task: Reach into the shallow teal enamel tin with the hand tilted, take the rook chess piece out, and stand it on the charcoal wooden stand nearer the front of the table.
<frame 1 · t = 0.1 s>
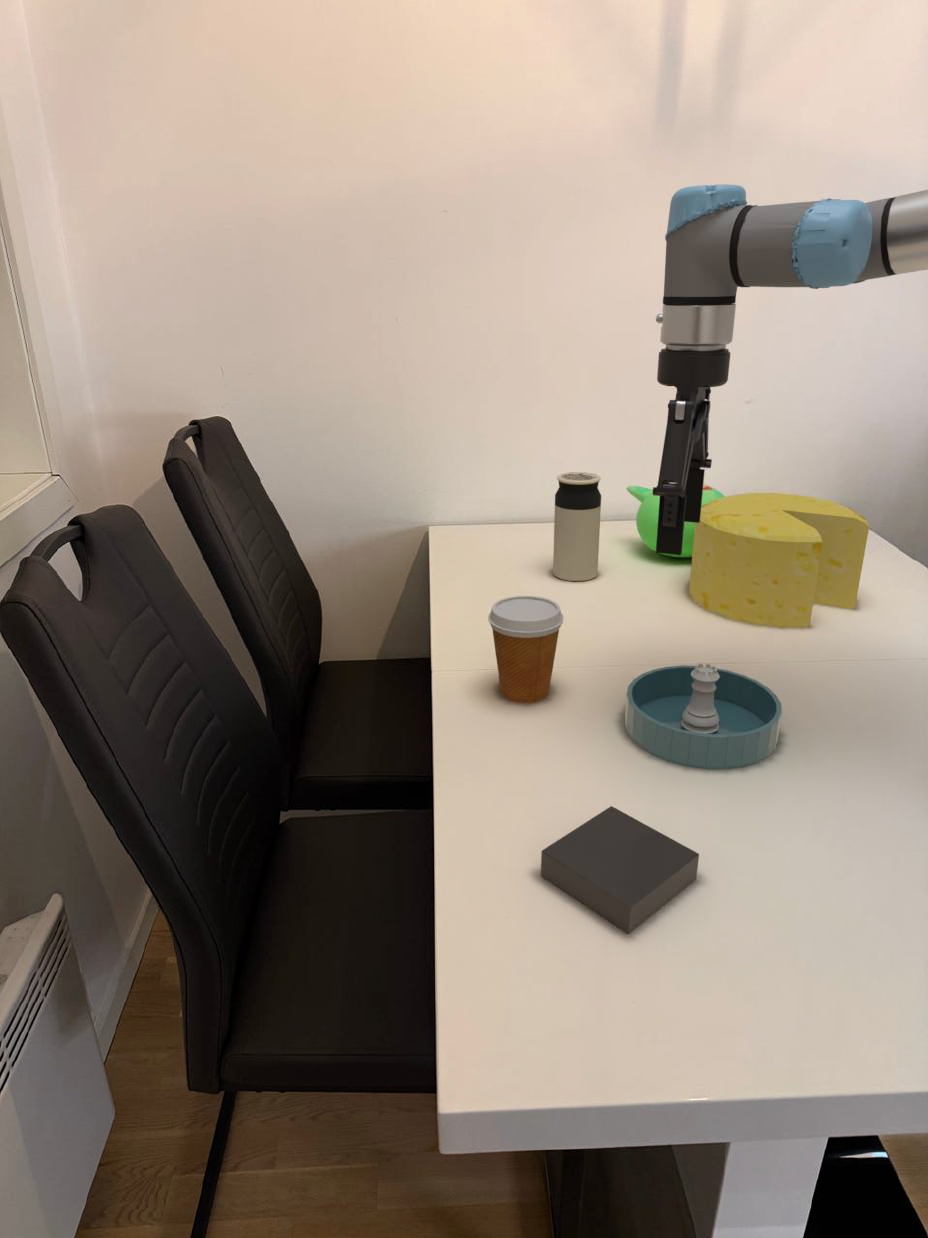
hand: (679, 536, 98), 22 cm above the table, tool pointing down, fingers open, 13 cm apart
travel mug: (575, 576, 151), on the table
rook chess piece: (699, 729, 101), resting on tin
tin: (699, 729, 101), on the table
stand: (618, 878, 76), on the table
disposable coffee cup: (524, 694, 110), on the table
cheese: (769, 598, 140), on the table
toy bird: (679, 554, 161), on the table
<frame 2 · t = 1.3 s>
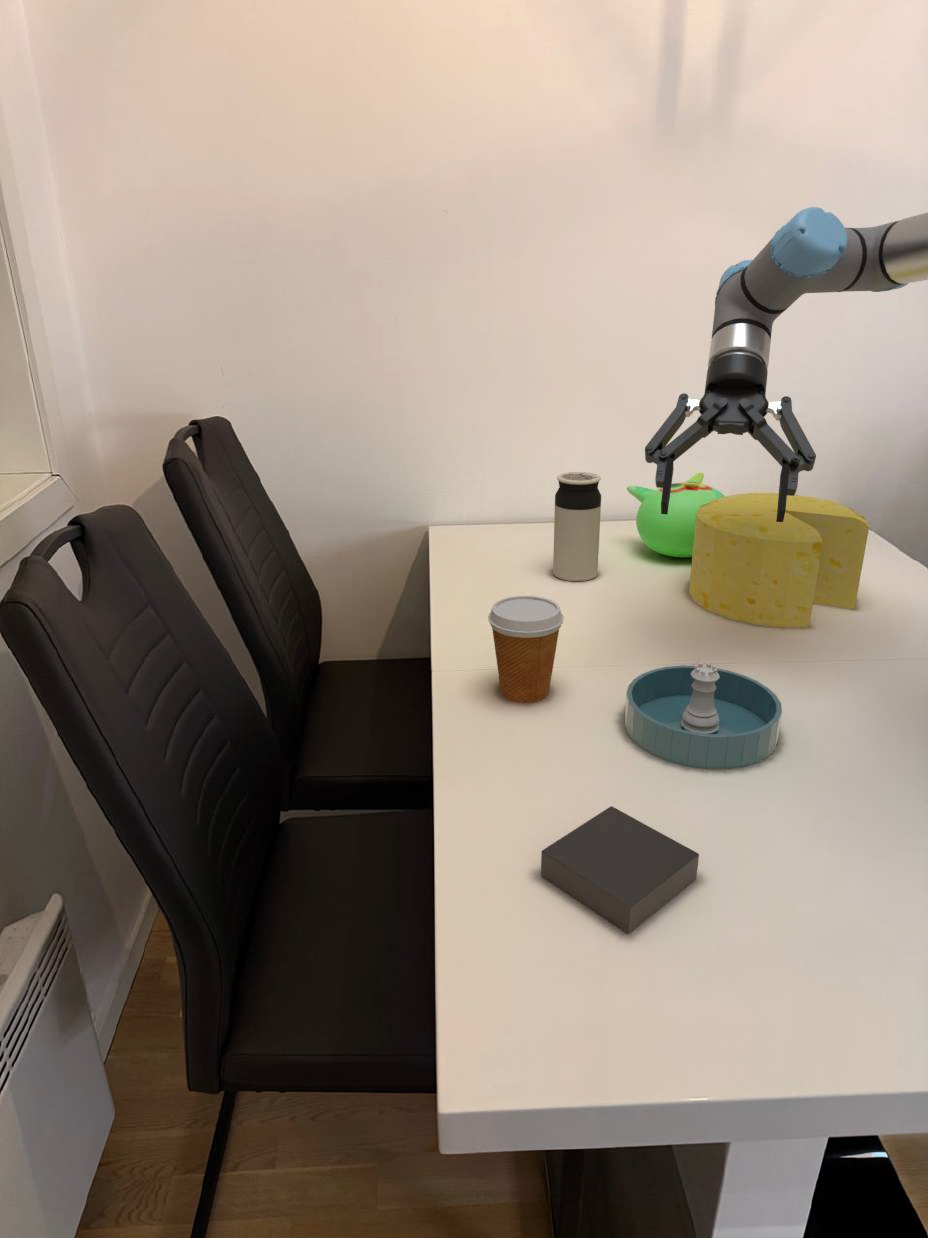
hand: (721, 512, 102), 24 cm above the table, tool tilted 45°, fingers open, 13 cm apart
nothing on the table moved.
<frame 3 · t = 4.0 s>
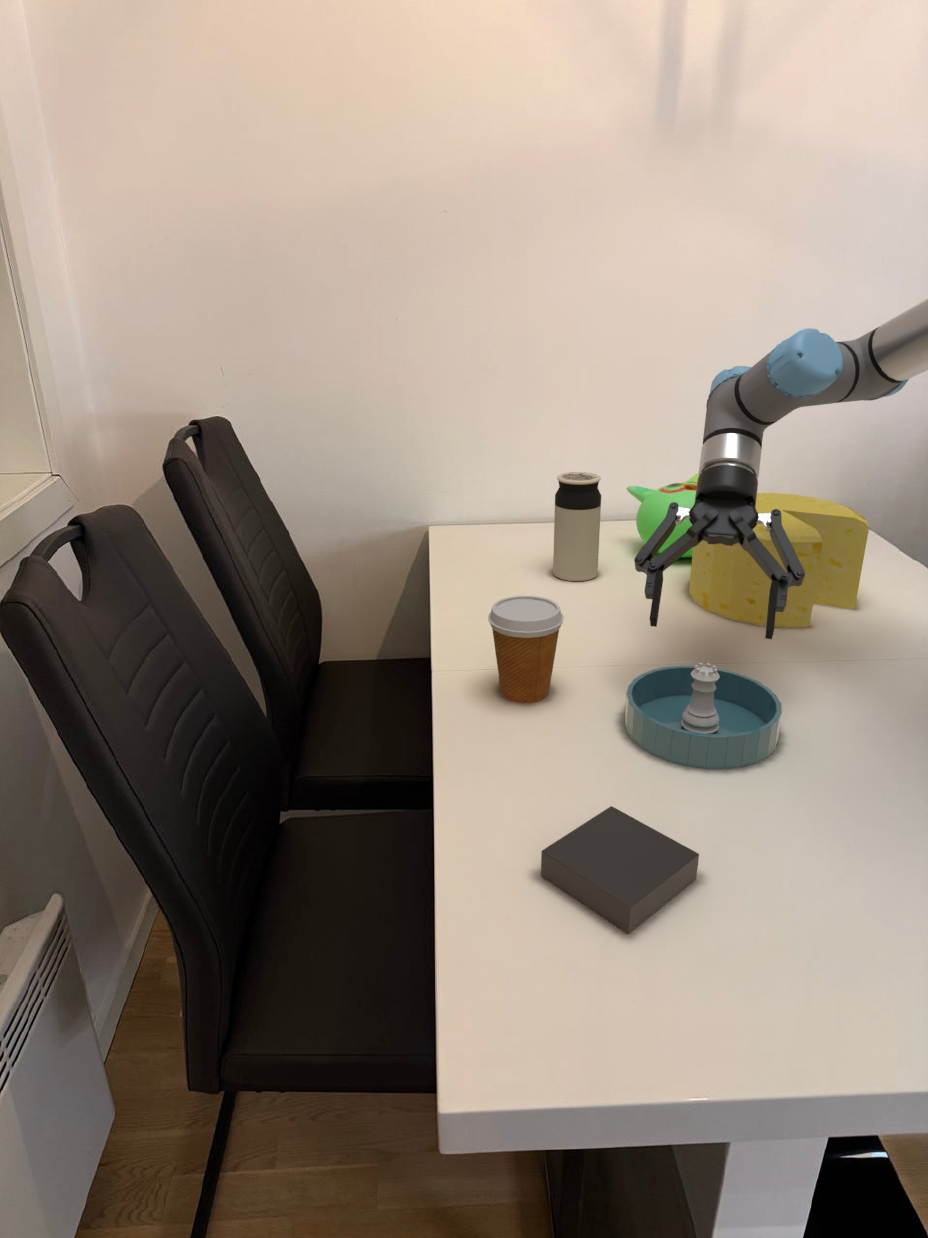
hand: (710, 628, 101), 11 cm above the table, tool tilted 45°, fingers open, 13 cm apart
nothing on the table moved.
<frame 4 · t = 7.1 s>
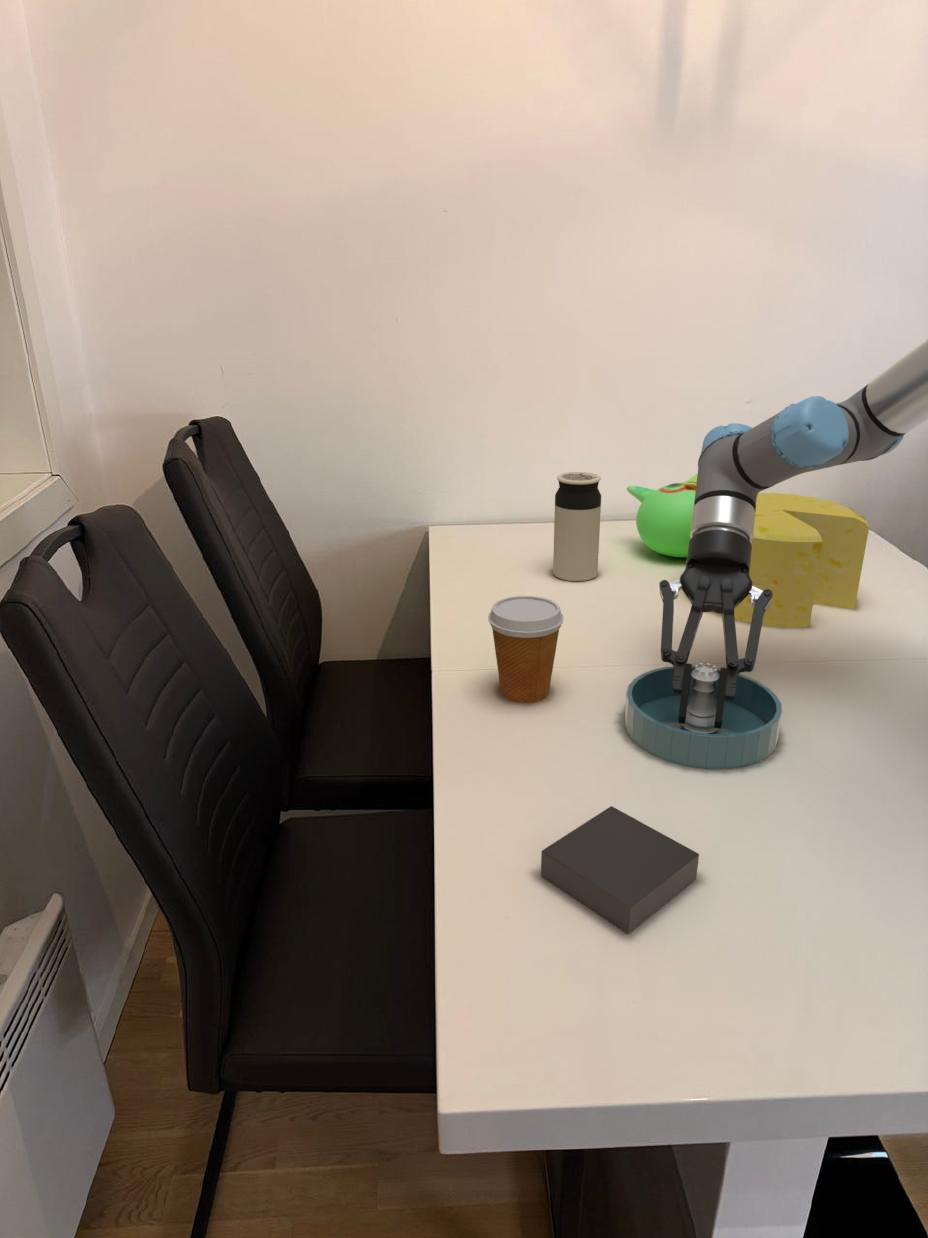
hand: (699, 722, 96), 3 cm above the table, tool tilted 45°, fingers closed on rook chess piece, 3 cm apart
rook chess piece: (699, 729, 101), resting on tin, touching gripper
everything else where it was.
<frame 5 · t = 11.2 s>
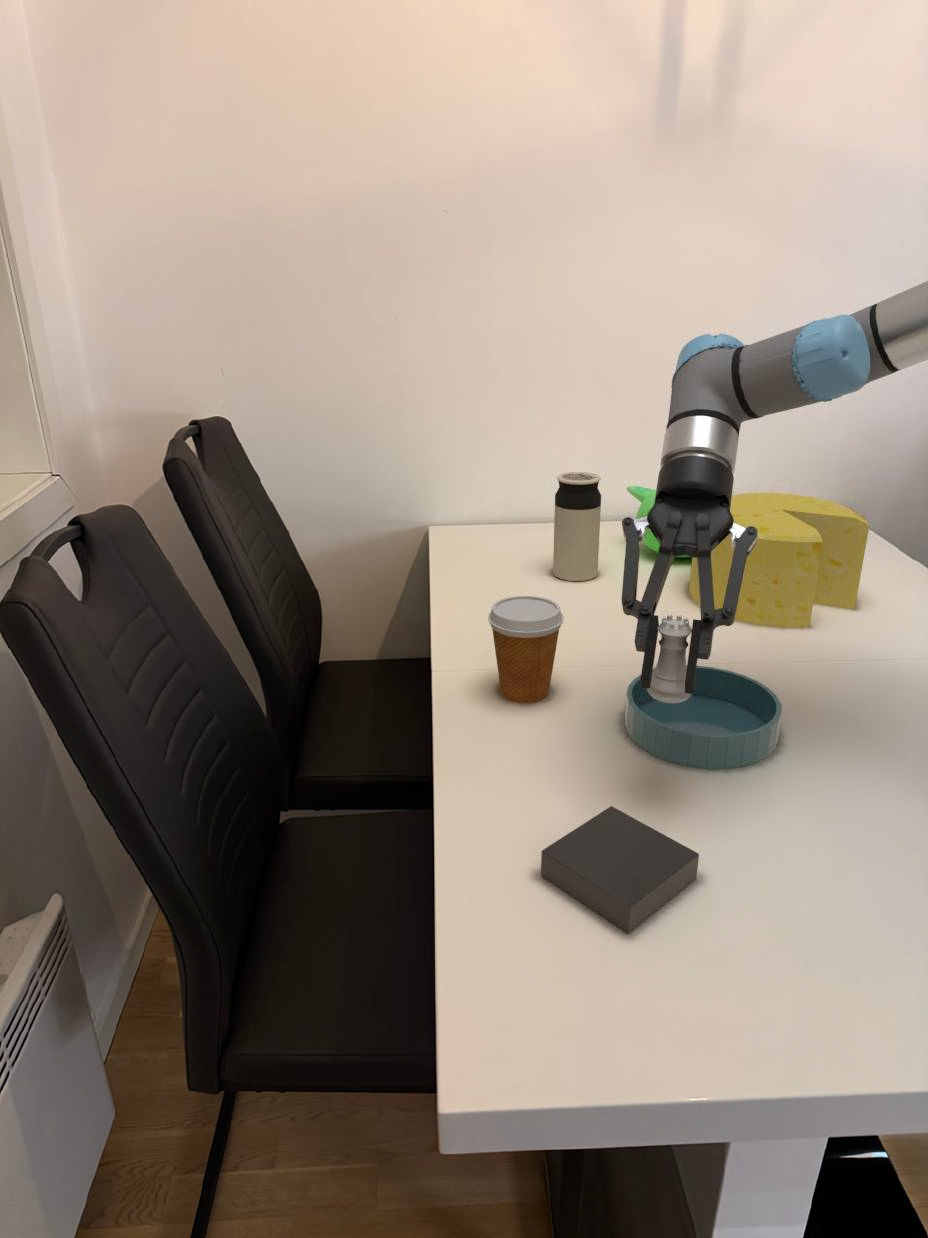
hand: (667, 685, 79), 15 cm above the table, tool tilted 45°, fingers closed on rook chess piece, 3 cm apart
rook chess piece: (669, 695, 83), point 12 cm above the table, touching gripper
everything else where it was.
when the fingers open (6 cm above the table, at t = 15.7 s): rook chess piece stays where it is, resting on stand.
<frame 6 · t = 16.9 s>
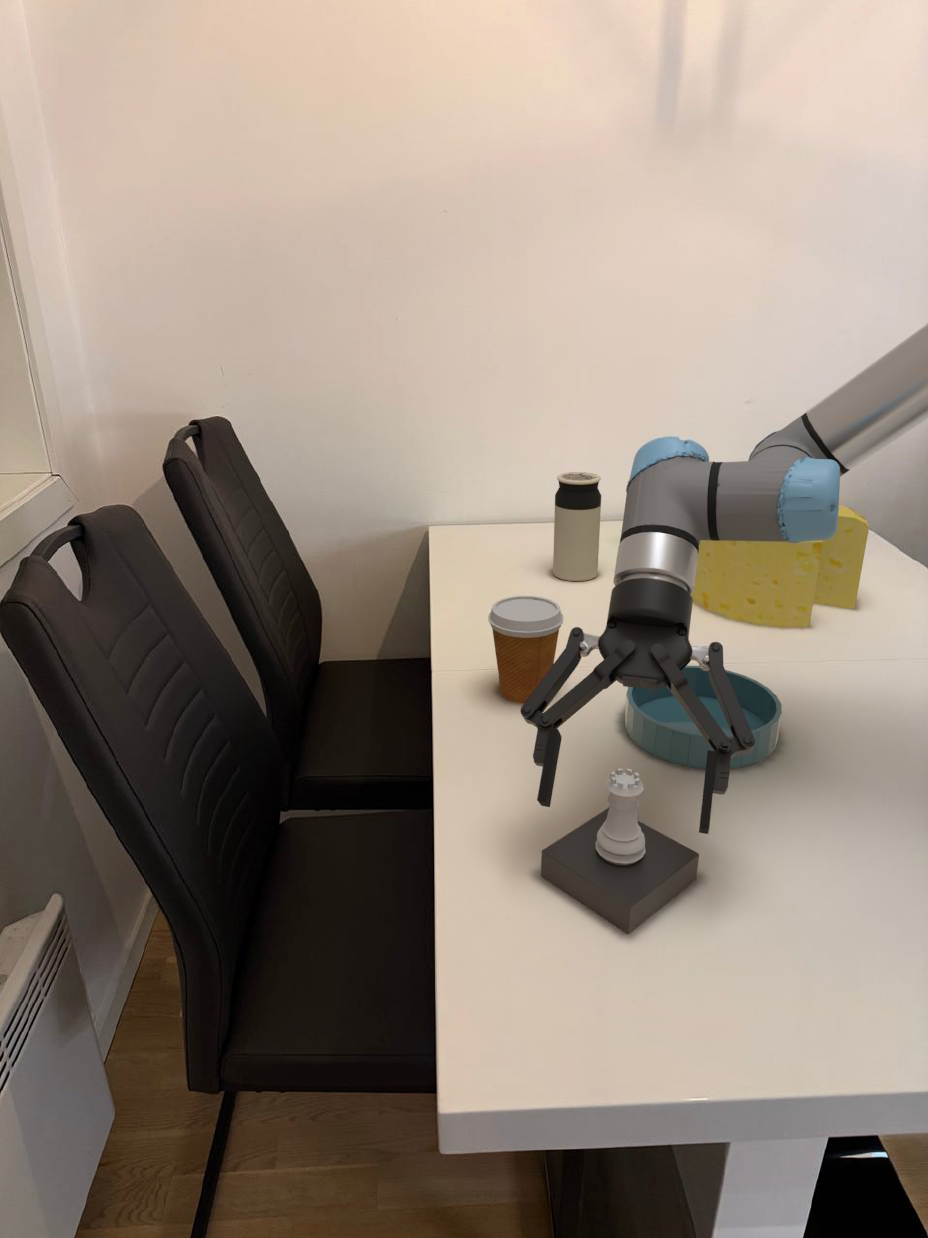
hand: (621, 817, 71), 8 cm above the table, tool tilted 45°, fingers open, 13 cm apart
rook chess piece: (619, 853, 75), point 3 cm above the table, touching stand
everything else where it was.
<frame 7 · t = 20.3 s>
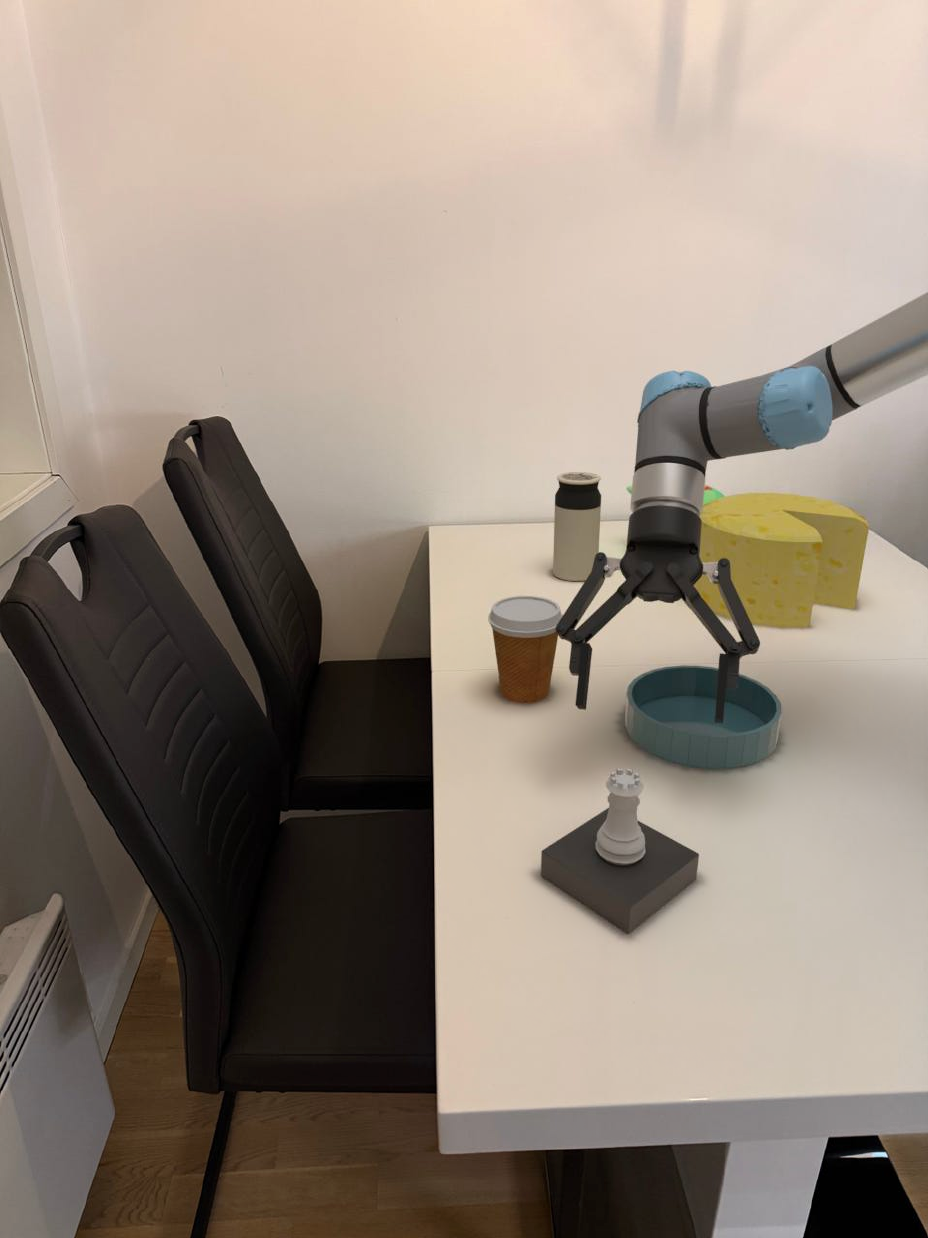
hand: (648, 714, 84), 10 cm above the table, tool tilted 35°, fingers open, 13 cm apart
nothing on the table moved.
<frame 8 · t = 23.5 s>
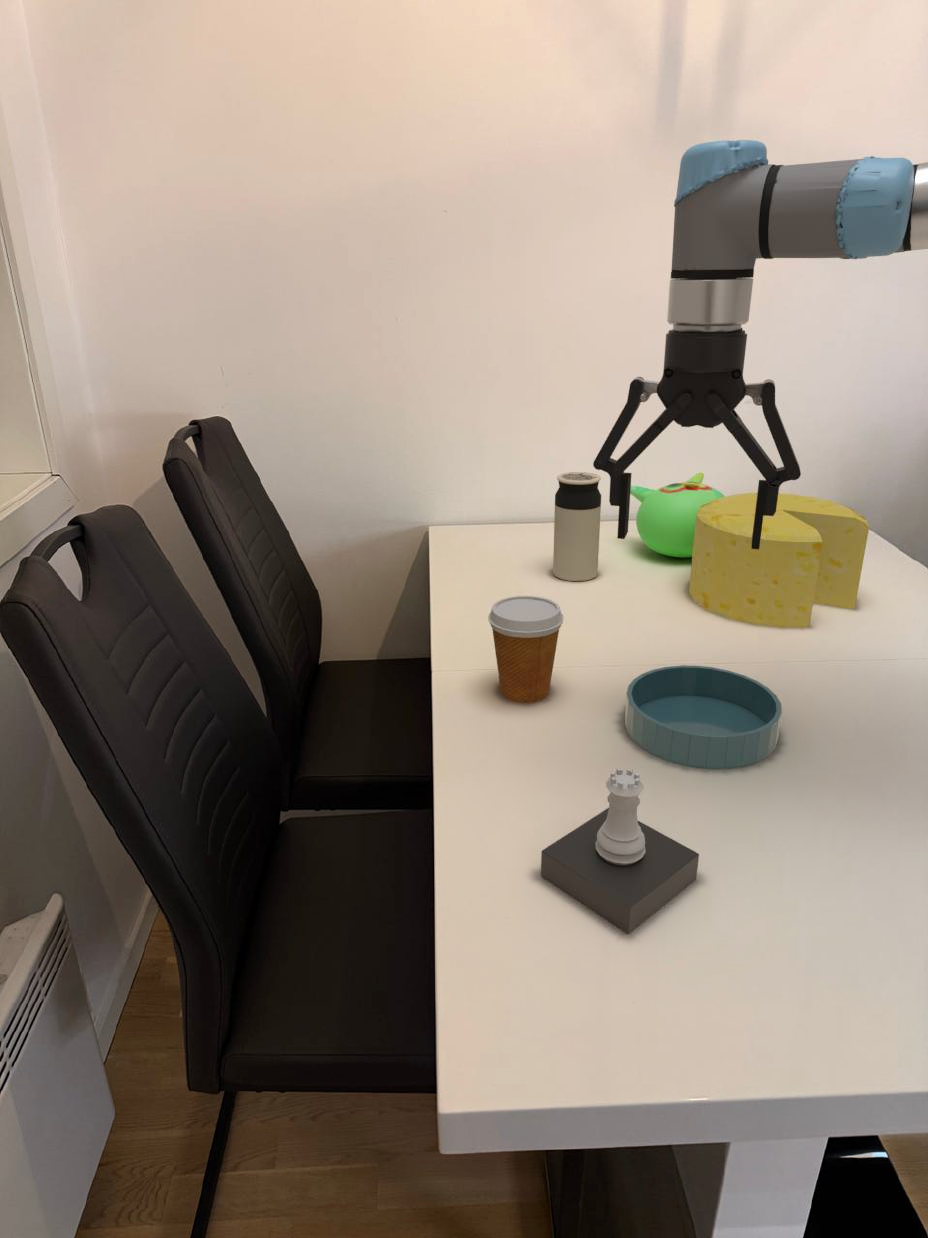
hand: (687, 540, 88), 25 cm above the table, tool pointing down, fingers open, 13 cm apart
nothing on the table moved.
at the end: rook chess piece inside the target area on the stand (0.1 cm from its centre), point 2.8 cm above the stand's base; rook chess piece tilted 0°; the gripper is holding nothing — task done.
